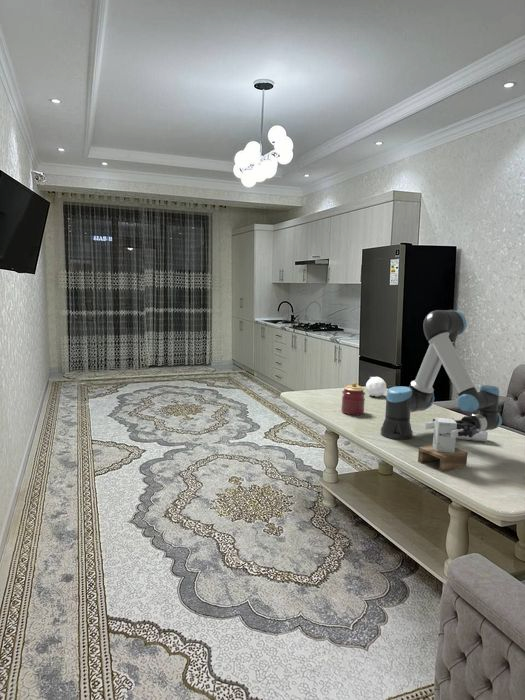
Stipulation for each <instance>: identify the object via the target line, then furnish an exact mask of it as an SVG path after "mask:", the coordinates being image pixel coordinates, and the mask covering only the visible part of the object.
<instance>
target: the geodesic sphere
mask: <svg viewBox="0 0 525 700" xmlns="http://www.w3.org/2000/svg"><path fill="white" fill-rule="evenodd" d="M365 389H366V390H365V391H366V392H367V394H368V395H370V396H372V397H373V396H375V397H374V398H379V396H380V397H382V396H383V395H384V394H385V392H386V391H387V383H386V381H385V380H384V379H383V378H381V377H379V376H377V375H375V376H369V379H368V380H367V381H366V383H365Z"/></svg>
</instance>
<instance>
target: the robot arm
mask: <svg viewBox="0 0 525 700" xmlns="http://www.w3.org/2000/svg"><path fill="white" fill-rule="evenodd" d="M422 325H423V326H422V327H423V328H422V329H423V333H424V336H425V338H426V340H427V341H428V344H429V345H428V348H427V350H426V353H425V355H424V357H423V359H422V362H421V364H420V368H419V370H418V372H417V374H416V376H415V379H414V380H411V381H410V384H409V386H402V385H401V386H392V387H390V388H389V389H387V390H386V391H387V393H386V399H385V400H386V401H385V416H384V417H385V418H384V420H383V423H382V427H380V435H381V436H383V437H385V438H388V439H393V440H409V439H412V438H413V433H414V432H413V430H412V425H411V413H414V412H422V411H426V410H428V409H429V408H431V407H432V406H433V404H434V402H435V396H434V395H435V393H434V391H435V389H434V388H433V386H434V384H435V383H434V382H435V380H436V378H437V376H438V374H439V372H440V369H441V366H443V368H444V370H445V372H446V374H447V376H448V378H449V380H450V382H451V384H452V385H453V388H454V389H455V392H456V393H457V396H458V398H457V406H458V408H459V409H460V410H461V411H462V412H464V413H472V412H473V413H474V412H477V411H478V413H475V414H469V415H465V416H463V417H462V418H460V419H458V420H455V419H454V418H451V419H453V420H454V421H455V422H456V423H457V429H458V430H454V431H451V438H455V437H460V436H469V437H473V436H474V435H475V434H476V433H479V432H480V431H486V430H488V431H492V430H495V429H498V428H499V427H501V425H502V423H503V418H502V416H501V414H500V413H499V412H498V410H499V402H500V389H499V387H498V386H496V385H487V384H486V385H485V384H484V385H481V387H480V390H479V391H478V390H477V389H476V387H475V385H474V383H473V381H472V379H471V377H470V375H469V374H468V372H467V370H466V368H465V365H464V364H463V361H462V359H460V358H461V357H460V355H459V354H458V352H457V350H456V348H455V347H454V343H455V342H456V341H457V338H458V336H459V335H461V334H463V333H464V332H465V331H466V329H467V325H468V324H467V319H466V317H465V315H464V314H463V313H462V312H461V311H459V310H455V309H447V310H446V309H444V310H443V309H436V310H432V311H430V312H429V313H428V314H427V315H426V316H425V318H424V320H423V324H422ZM434 425H435V418H433V419H432V421H427V422H426V423H425V430H431V429H433V430H434Z"/></svg>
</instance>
